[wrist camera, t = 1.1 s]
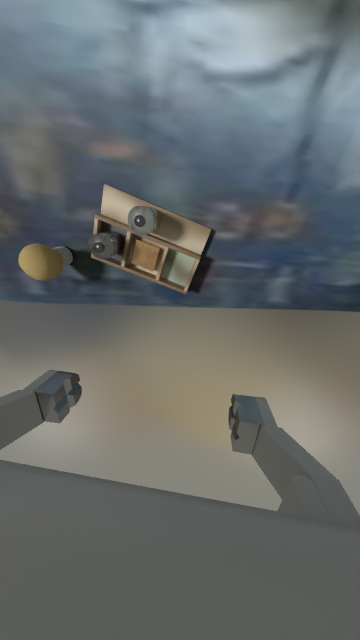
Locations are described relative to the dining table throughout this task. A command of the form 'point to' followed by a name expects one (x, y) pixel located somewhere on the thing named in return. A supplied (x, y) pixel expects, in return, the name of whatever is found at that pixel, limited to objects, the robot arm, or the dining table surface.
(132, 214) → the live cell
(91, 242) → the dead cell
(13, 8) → the dining table surface
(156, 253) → the brown square tile
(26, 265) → the light bulb
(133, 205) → the wooden compartment tray
